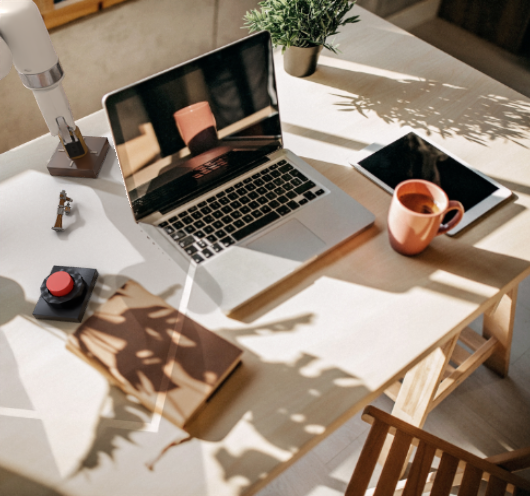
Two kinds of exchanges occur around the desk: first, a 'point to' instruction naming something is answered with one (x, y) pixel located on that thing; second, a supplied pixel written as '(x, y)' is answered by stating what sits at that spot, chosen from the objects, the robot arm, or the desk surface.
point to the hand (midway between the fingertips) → (75, 146)
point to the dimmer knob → (79, 135)
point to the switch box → (67, 296)
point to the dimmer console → (80, 159)
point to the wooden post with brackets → (62, 210)
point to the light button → (60, 283)
